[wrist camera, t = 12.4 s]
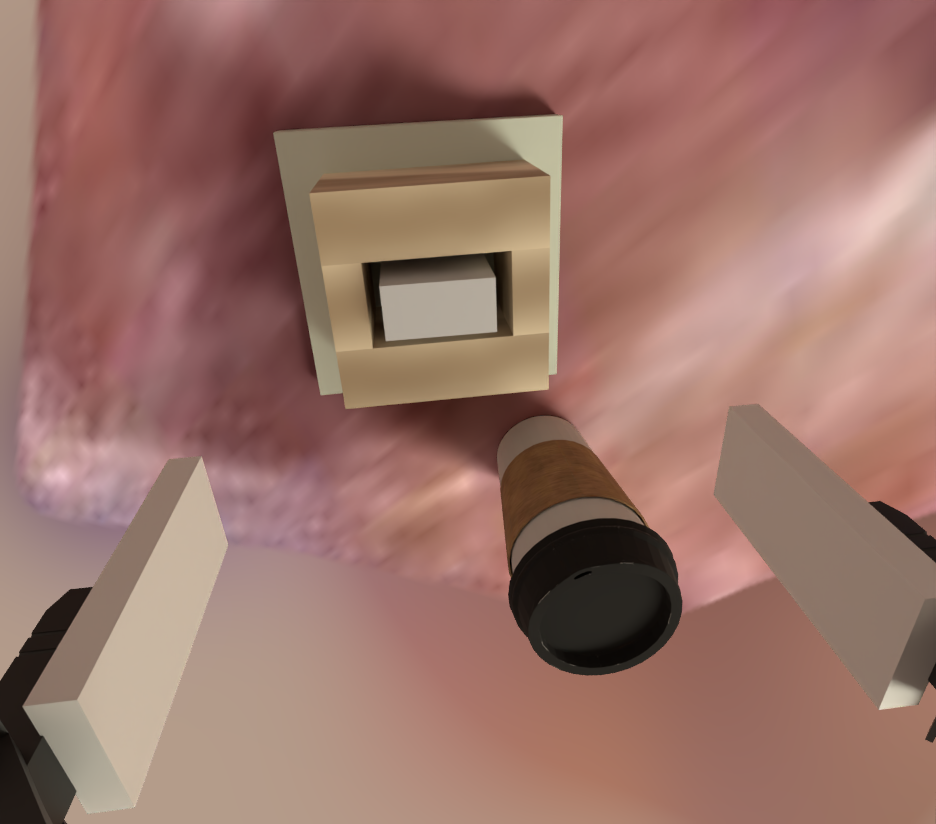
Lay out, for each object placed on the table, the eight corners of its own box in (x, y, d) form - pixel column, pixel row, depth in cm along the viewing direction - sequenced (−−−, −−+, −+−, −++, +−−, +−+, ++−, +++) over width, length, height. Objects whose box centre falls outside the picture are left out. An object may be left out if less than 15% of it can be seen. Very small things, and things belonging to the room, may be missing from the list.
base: (278, 130, 31) (241, 146, 23) (555, 113, 32) (605, 124, 24) (323, 384, 37) (305, 459, 30) (551, 363, 38) (588, 432, 31)
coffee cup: (577, 376, 39) (671, 527, 26) (617, 474, 43) (716, 648, 30) (457, 430, 40) (488, 602, 27) (506, 522, 44) (555, 711, 31)
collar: (525, 344, 36) (548, 389, 31) (352, 359, 35) (345, 408, 30) (523, 159, 31) (550, 175, 26) (323, 173, 30) (308, 193, 25)
